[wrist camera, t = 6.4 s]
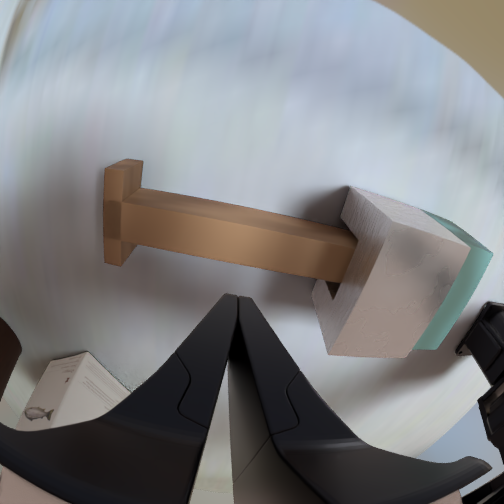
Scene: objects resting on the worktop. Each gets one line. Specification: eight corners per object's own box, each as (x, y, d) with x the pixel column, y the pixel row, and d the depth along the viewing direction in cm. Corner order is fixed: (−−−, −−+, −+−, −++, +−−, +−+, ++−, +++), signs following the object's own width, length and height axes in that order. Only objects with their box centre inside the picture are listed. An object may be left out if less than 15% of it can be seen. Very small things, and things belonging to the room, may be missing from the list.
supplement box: (88, 348, 20) (34, 469, 9) (138, 397, 23) (110, 507, 12) (49, 358, 21) (2, 452, 10) (94, 400, 25) (63, 490, 13)
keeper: (421, 209, 14) (470, 248, 10) (377, 304, 17) (405, 357, 13) (350, 186, 14) (392, 221, 9) (310, 294, 17) (327, 354, 12)
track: (451, 221, 15) (493, 253, 11) (409, 307, 18) (436, 349, 14) (128, 140, 13) (83, 154, 9) (122, 256, 16) (90, 300, 12)
